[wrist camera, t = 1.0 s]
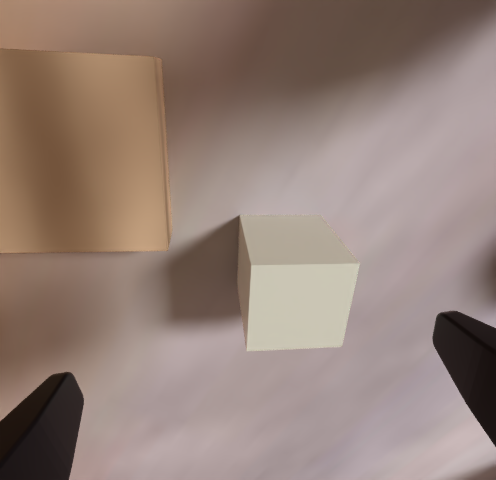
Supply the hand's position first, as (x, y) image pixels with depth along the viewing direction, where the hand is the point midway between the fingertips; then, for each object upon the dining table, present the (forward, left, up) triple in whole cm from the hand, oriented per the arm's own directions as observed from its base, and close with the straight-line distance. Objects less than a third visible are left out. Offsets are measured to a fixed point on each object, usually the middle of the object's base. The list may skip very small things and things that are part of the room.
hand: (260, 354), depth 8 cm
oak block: (+8, -2, -13) cm, 15 cm away
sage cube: (-3, +4, -13) cm, 14 cm away
